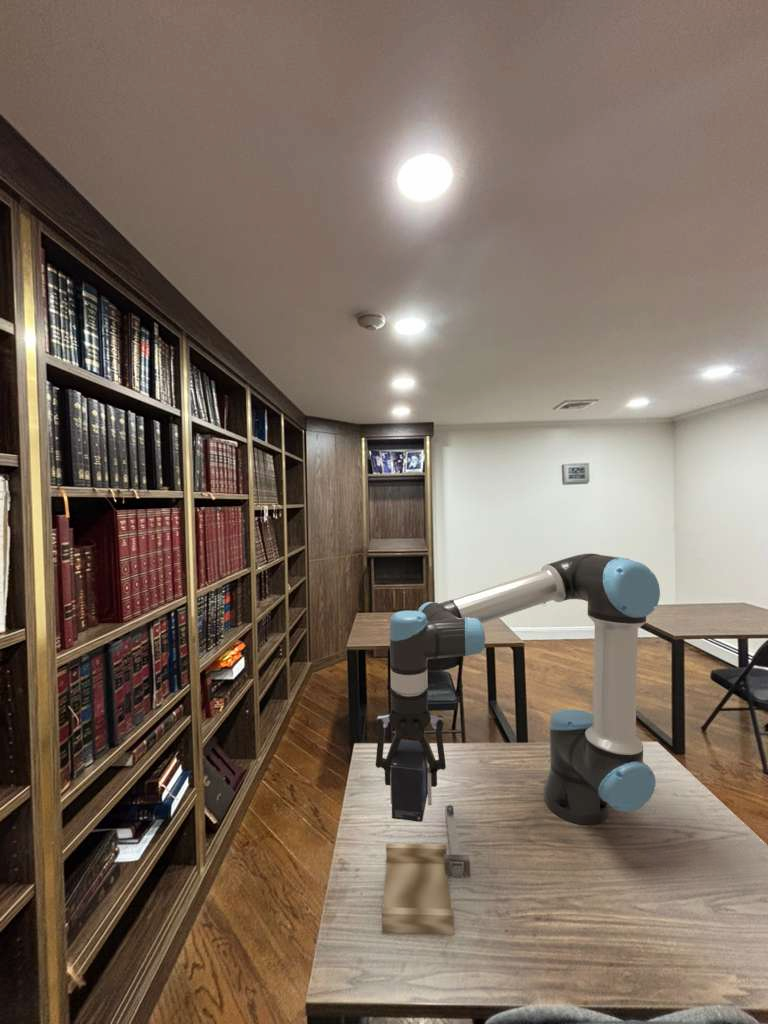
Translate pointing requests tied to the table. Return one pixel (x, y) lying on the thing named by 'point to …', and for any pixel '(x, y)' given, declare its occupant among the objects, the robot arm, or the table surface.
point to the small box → (409, 781)
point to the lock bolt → (453, 840)
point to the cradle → (419, 889)
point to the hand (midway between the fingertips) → (411, 799)
